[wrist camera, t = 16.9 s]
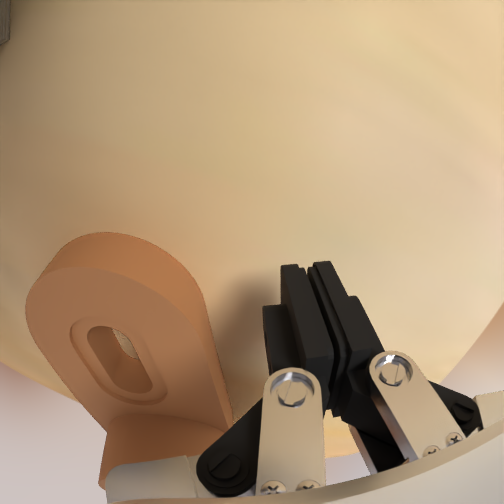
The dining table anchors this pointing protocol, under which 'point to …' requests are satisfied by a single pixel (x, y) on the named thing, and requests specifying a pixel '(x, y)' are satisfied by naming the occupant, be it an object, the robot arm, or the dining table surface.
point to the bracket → (143, 340)
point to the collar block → (4, 21)
